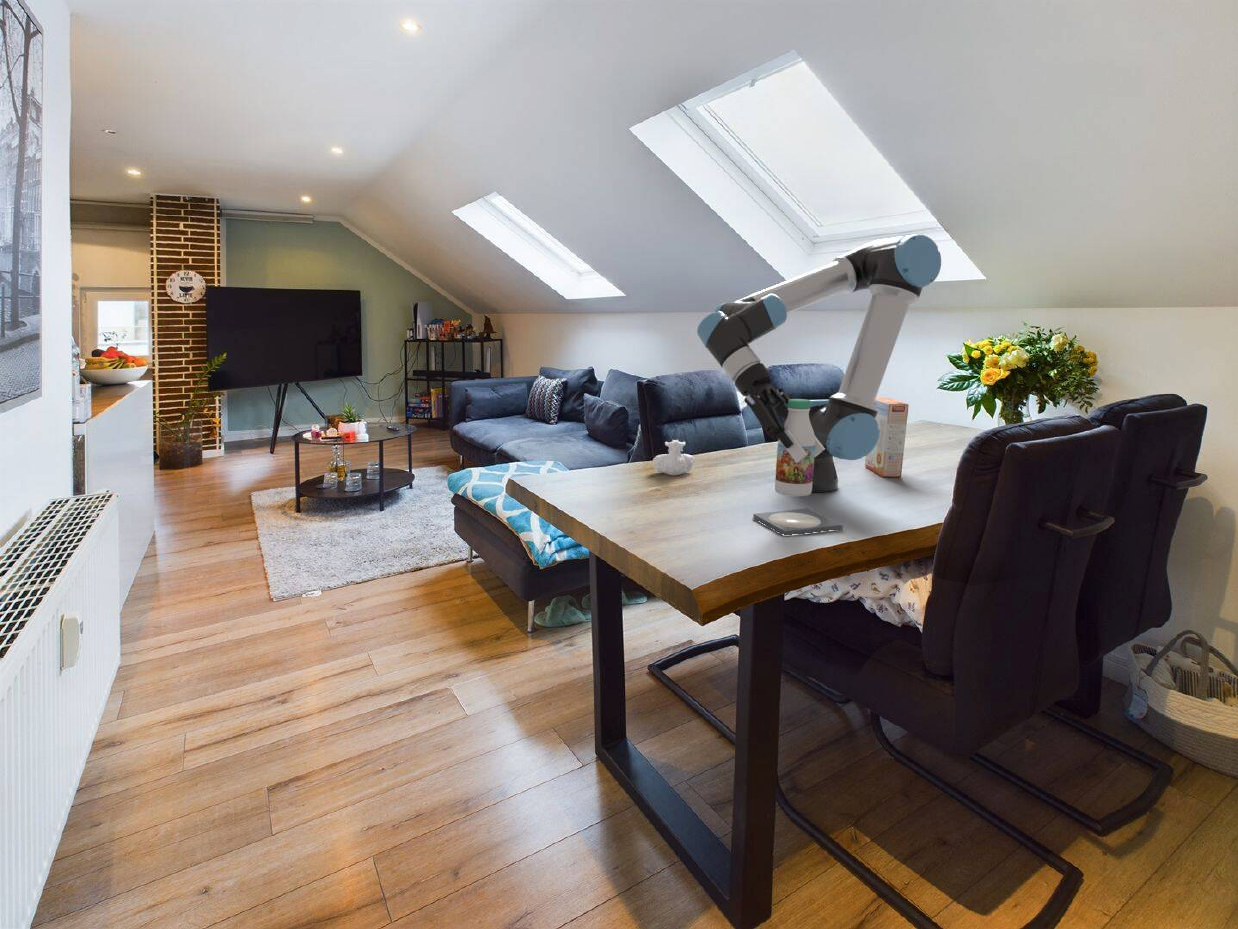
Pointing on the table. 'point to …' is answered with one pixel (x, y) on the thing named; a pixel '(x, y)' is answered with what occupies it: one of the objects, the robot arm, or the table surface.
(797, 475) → the milk bottle
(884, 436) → the cracker box
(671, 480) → the table surface
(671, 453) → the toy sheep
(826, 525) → the slate board
